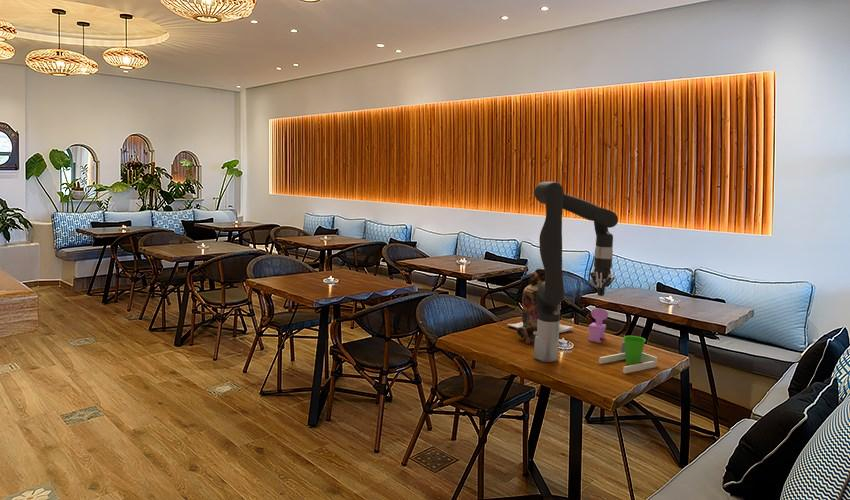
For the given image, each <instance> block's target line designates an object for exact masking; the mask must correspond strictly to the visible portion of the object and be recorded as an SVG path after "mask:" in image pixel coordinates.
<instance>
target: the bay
mask: <svg viewBox="0 0 850 500" xmlns="http://www.w3.org/2000/svg"><path fill="white" fill-rule="evenodd" d="M620 346H621V347H620V353H616V354H615V353H614V354H611V355H610V354H609V355H605V356H599V357H598V364H600V365H601V364H607V363H612V362H616V361H622V360H626V355H625V343H624V340H622V341H621V345H620ZM658 360H659V359H658V357H657V356H655V355H652V354H649V353H645V352H643V351H642V355H641V359H640V363H639V364H635V365H626V366H622V367H623V368H622V369H623V370H622V373H623V374H628V373H635V372H638V371H643V370H648V369H653V368H657V367H658Z"/></svg>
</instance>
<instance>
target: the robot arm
mask: <svg viewBox="0 0 850 500" xmlns="http://www.w3.org/2000/svg"><path fill="white" fill-rule="evenodd" d="M533 193H534V197H535V199H536V201H538V202H539V203H541V204H543V205H545V218H544V219H545V220H544V223H543V225H542V228H541V230H540V233H539V242H538V243H539V254H540V258H541V263H542V267H543V269H544V270H545V282H543V283H541V284H540V286H539V287H538V291H537V313H538V324H537V336H535V342H534V345H533V347H534V349H533V358H534V359H535V360H538V361H540V362H543V363H544V362H546V363H550V362H556V361H558V358H559V357H558V356H559V343H560V342H559V339H560V333H559V327H560V324H561V312H560V313H559V311H558V307H557V305H559V306H560V305H561V303H562V302H563V300H564V297H565V287H564V279H563V210H566V211H568V212H570V213H572V214H574V215H577V216H578V217H581V218H583V219H585V220H587V221H591V222H593V225H594V231H595V236H596V238H595V248H594V257H593V258H594V259H593V260H594V261H593V268H594V270H593V271H592V272H589V275H590V278H591V280H592V282H593V285H595V286H597V296H600V297H604V295H605V289H606V288H608V287H609V286H610V285H612V283H613V281H615V279H616V278H615V276H612V272H611V269H612V268H613V257H614V256H613V255H614V254H613V252H614V249H613V245H614V235H613V234H612V233H611V232H609V229H611V228H614V227H616V225H617V224H618V223H619V216H618V214H617V213H616V212H614V211H612V210H610V209H607V208H604V207H601V206H598V205H596V204H594V203H592V202H590V201H588V200H585V199H582V198H579V197H576V196H573V195H569V194H566V193H565V192H564V187H563V186H562V185H561V184H560V183H559V182H557V181H542V182H540V183H538V184H537V185H536V186H535V188H534V192H533Z"/></svg>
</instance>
